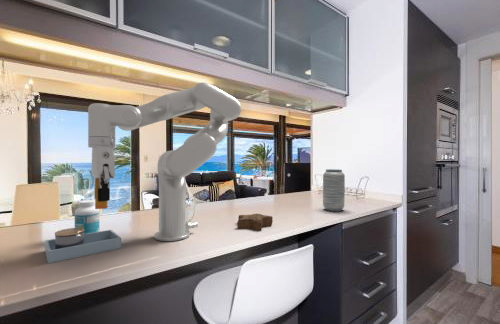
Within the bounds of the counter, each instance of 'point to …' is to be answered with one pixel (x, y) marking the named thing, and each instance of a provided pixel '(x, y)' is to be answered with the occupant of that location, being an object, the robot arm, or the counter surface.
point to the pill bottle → (87, 217)
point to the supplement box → (97, 204)
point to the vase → (333, 190)
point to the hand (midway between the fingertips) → (102, 199)
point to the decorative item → (254, 221)
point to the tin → (69, 237)
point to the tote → (84, 246)
